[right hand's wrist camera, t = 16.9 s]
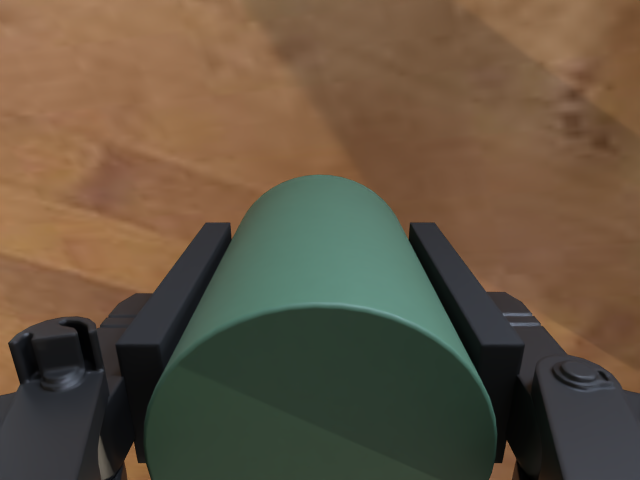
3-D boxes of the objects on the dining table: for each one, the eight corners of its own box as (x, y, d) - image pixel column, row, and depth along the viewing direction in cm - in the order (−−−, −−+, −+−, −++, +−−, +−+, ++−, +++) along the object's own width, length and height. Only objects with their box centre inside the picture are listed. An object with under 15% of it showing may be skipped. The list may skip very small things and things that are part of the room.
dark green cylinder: (298, 136, 13) (270, 225, 6) (442, 240, 14) (575, 429, 7) (201, 275, 15) (80, 489, 7) (337, 359, 16) (352, 616, 8)
